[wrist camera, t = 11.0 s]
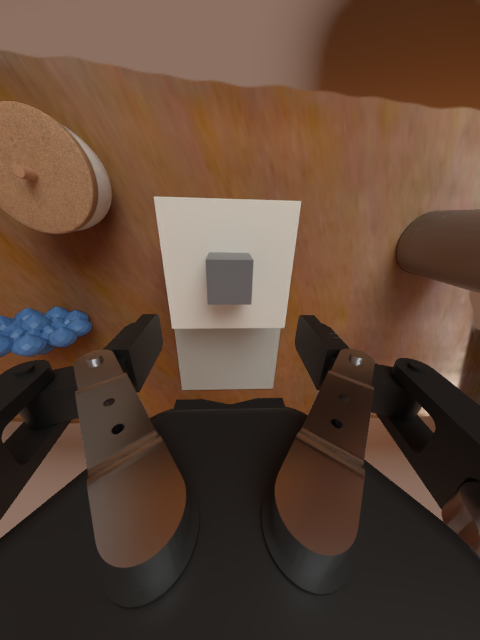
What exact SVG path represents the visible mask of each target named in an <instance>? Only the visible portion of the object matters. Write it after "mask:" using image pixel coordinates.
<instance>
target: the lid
mask: <svg viewBox="0 0 480 640" xmlns="http://www.w3.org/2000/svg"><path fill="white" fill-rule="evenodd" d="M154 202H155V209H156V216H157V224H158V231H159V238H160V245H161V252H162V259H163V267H164V274H165V281H166V288H167V295H168V302H169V310H170V317H171V324H172V329H202V328H284V327H285V319H286V312H287V304H288V297H289V289H290V282H291V274H292V267H293V260H294V252H295V245H296V237H297V230H298V222H299V215H300V207H301V201H281V200H248V199H216V198H184V197H154Z"/></svg>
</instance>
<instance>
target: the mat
mask: <svg viewBox="0 0 480 640" xmlns="http://www.w3.org/2000/svg"><path fill="white" fill-rule="evenodd" d="M280 329H281V328H202V329H174V330H175V338H176V346H177V354H178V362H179V369H180V377H181V385H182V390H219V389H273V383H274V375H275V367H276V360H277V352H278V344H279V336H280Z"/></svg>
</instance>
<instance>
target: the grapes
mask: <svg viewBox="0 0 480 640" xmlns="http://www.w3.org/2000/svg"><path fill="white" fill-rule="evenodd" d="M88 320H89V317H88V315H87V314H85V313H83V312H81V311H77V310H74V311H72V312H69V311H68V310H66V309H64V308H61V307H57V306H56V307H54V308H52V309H50V310H49V311H48V312H46V313H45V315H43V314H42V313H41V312H39V311H37V310H33V309H29V308H26V309H24V310H22V311H20V312H19V313H18V314H16V315H15V317H14V318H13V319H11V318H8V317H4V316H0V357H3V356H5V355H6V354H8V353H10V352H11V351H12V353H14V354H17V355H19V356H27V357H33V356H35V355H37V354H47V353H48V352H50V351H52V350H53V349H54V348H55V347H60V348H66V347H68V346H69V345H71V344H73V343H74V342H75V341H76V340H77V337H82V336H84V335H85V334H87V333H88V332H89V331H91V329H92V324H91V322H89V321H88Z"/></svg>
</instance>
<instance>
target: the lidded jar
mask: <svg viewBox="0 0 480 640" xmlns="http://www.w3.org/2000/svg"><path fill="white" fill-rule="evenodd" d="M111 201H112V188H111V183H110V180H109V177H108V174H107V172H106V170H105V168H104V166H103V164H102V163H101V161H100V159H99V158H98V157H97V155H96V154H95V153H94V152H93V150H92V149H91V148H90V147H89V146H88V145H87V144H86V143H85V142H84V141H83V140H82V139H81V138H79V137H78V136H77V135H76V134H74V133H73V132H72V131H70V130H69V129H68V128H66V127H65V126H63V125H61V124H60V123H58V122H57V121H56V120H55V119H53V118H52V117H50V116H48V115H47V114H45V113H43V112H42V111H40V110H38V109H36V108H34V107H31V106H29V105H27V104H23V103H19V102H14V101H2V102H0V207H1V208H2V209H3V210H4V211H5V212H6V213H7V214H8V215H10V216H11V217H12V218H14V219H15V220H16V221H18V222H20V223H21V224H23V225H25V226H27V227H29V228H31V229H33V230H36V231H39V232H43V233H48V234H65V233H71V232H74V231H80V230H84V229H87V228H90V227H92V226H94V225H96V224H97V223H99V222H100V221H101V220H102V219H103V218H104V217H105V216H106V214H107V213H108V211H109V208H110V206H111Z"/></svg>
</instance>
